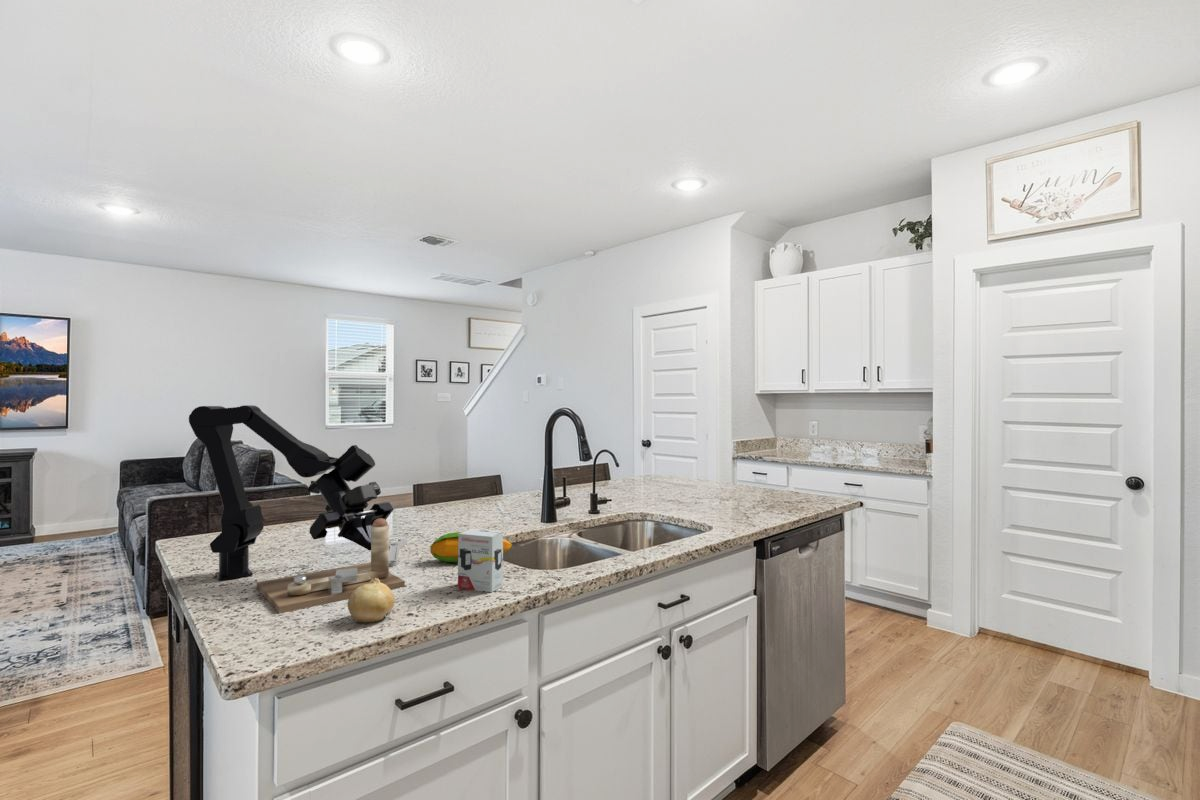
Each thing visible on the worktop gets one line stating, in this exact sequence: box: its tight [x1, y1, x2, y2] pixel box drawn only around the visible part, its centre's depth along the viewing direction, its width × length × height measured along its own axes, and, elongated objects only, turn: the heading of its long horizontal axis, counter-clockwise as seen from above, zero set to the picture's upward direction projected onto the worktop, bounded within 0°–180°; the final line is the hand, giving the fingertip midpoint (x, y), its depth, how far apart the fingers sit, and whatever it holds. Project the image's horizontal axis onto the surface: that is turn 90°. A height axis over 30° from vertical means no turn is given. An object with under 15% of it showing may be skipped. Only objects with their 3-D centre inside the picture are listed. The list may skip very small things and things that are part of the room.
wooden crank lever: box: [288, 518, 390, 595], centre depth 121 cm, size 20×4×13 cm, turn 132°
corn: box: [429, 531, 513, 563], centre depth 145 cm, size 7×8×20 cm
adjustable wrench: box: [389, 538, 408, 568], centre depth 151 cm, size 25×6×2 cm, turn 13°
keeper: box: [294, 568, 357, 595], centre depth 117 cm, size 8×12×3 cm, turn 131°
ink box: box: [457, 528, 504, 593], centre depth 123 cm, size 9×5×12 cm, turn 70°
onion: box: [346, 577, 395, 624], centre depth 105 cm, size 8×8×7 cm
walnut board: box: [256, 561, 406, 614], centre depth 123 cm, size 20×24×1 cm
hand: (372, 548), depth 127 cm, fingers closed, pressing on wooden crank lever
